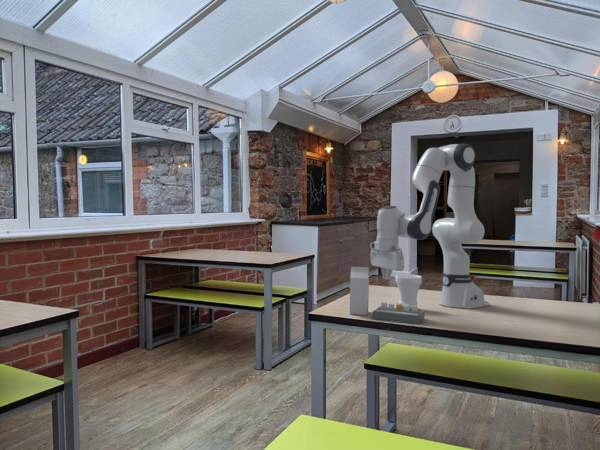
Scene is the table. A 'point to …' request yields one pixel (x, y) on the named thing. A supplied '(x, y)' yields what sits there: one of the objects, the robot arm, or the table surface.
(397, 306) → the rocker switch
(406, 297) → the cup
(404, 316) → the switch box
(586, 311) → the table surface
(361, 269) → the milk carton
